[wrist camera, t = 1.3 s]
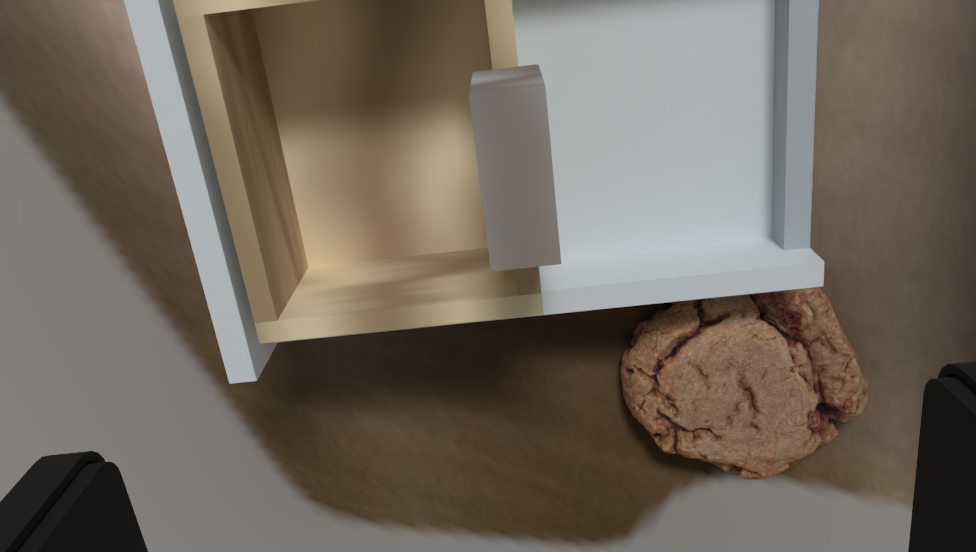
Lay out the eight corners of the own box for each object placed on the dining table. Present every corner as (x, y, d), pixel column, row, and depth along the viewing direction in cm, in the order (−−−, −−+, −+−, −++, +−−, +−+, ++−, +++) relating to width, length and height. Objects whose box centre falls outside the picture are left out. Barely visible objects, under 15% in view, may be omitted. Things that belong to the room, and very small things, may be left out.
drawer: (521, -56, 29) (532, -56, 20) (550, 252, 33) (570, 369, 24) (230, -19, 29) (109, -2, 20) (297, 279, 34) (224, 403, 25)
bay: (797, -135, 29) (885, -158, 22) (787, 249, 34) (855, 320, 28) (193, -56, 30) (109, -55, 23) (278, 302, 35) (229, 383, 29)
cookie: (614, 278, 35) (624, 307, 32) (863, 258, 35) (894, 285, 32) (621, 468, 39) (631, 508, 36) (845, 452, 38) (872, 492, 36)
